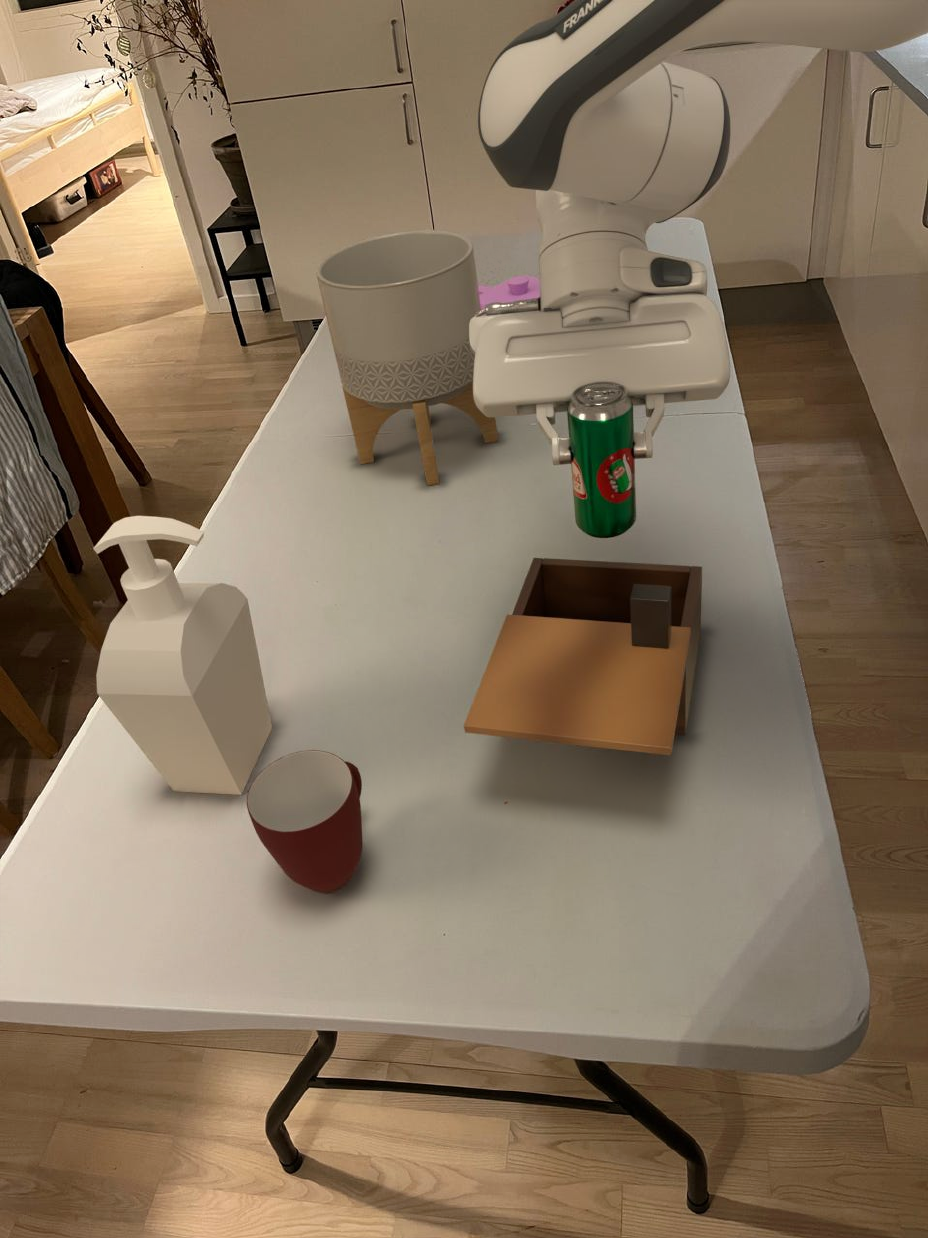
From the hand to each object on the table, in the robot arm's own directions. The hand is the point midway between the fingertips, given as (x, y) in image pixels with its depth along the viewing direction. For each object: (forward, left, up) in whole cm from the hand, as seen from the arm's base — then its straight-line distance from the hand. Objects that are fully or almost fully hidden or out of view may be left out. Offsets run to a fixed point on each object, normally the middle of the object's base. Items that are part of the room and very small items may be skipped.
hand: (603, 459), depth 77 cm
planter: (+32, -41, -23) cm, 57 cm away
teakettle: (+25, -69, -23) cm, 77 cm away
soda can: (0, -1, -7) cm, 7 cm away
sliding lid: (+1, +10, -15) cm, 18 cm away
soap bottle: (+33, +16, -23) cm, 43 cm away
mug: (+19, +25, -23) cm, 39 cm away
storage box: (+1, 0, -23) cm, 23 cm away
